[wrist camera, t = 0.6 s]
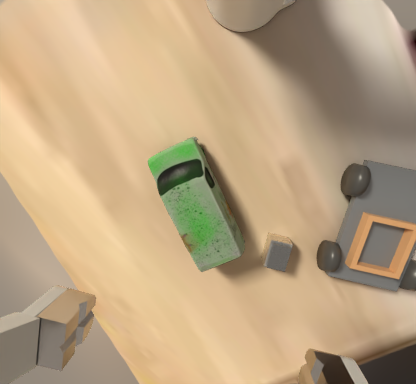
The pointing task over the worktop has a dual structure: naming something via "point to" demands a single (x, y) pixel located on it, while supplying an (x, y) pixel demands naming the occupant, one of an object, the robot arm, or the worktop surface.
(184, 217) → the toy car
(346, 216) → the chassis
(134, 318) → the worktop surface
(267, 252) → the grey wooden block
